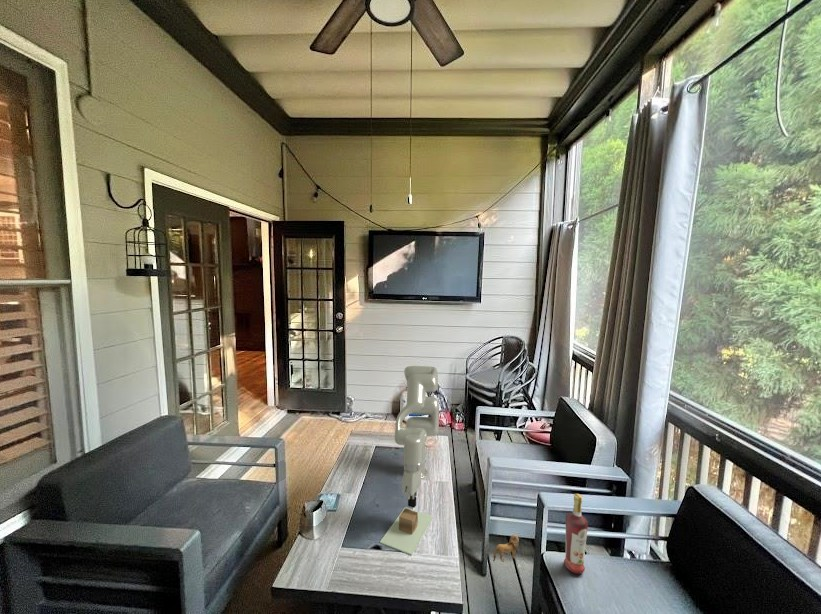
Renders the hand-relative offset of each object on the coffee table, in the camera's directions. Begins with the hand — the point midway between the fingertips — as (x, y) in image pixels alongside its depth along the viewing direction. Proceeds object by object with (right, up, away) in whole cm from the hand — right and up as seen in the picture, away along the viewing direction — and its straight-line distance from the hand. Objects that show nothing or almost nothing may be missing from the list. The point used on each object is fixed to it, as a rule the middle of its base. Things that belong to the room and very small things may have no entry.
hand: (412, 505), depth 145 cm
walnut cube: (0, -5, 0) cm, 5 cm away
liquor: (+60, -11, -21) cm, 64 cm away
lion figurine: (+36, -10, -16) cm, 40 cm away
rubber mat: (-2, -9, -3) cm, 9 cm away
